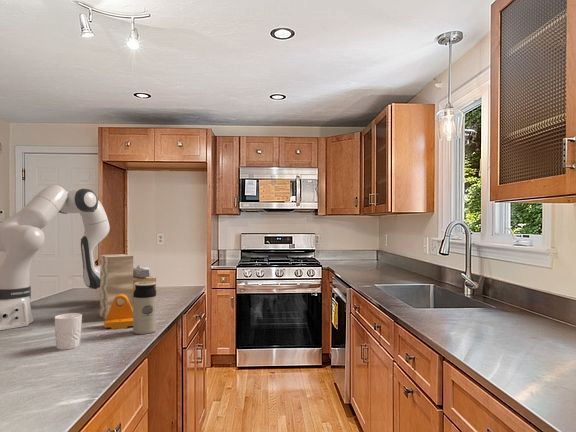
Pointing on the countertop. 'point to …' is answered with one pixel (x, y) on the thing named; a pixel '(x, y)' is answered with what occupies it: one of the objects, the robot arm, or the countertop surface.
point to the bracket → (119, 314)
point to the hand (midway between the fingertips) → (132, 267)
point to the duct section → (140, 272)
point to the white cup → (68, 330)
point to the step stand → (117, 280)
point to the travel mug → (144, 308)
